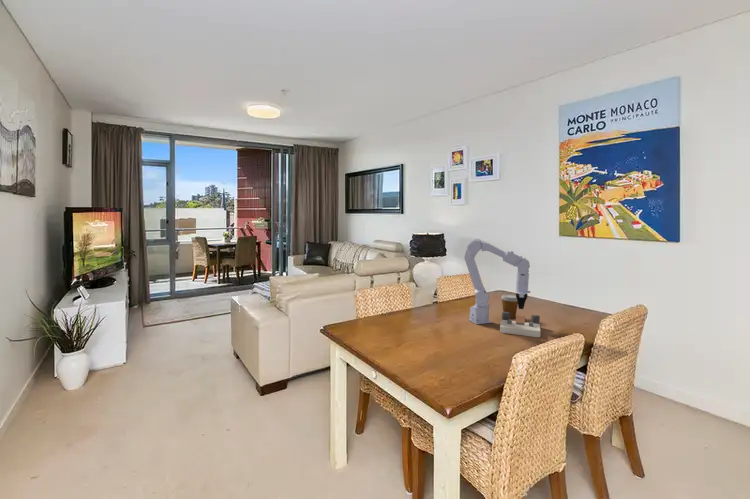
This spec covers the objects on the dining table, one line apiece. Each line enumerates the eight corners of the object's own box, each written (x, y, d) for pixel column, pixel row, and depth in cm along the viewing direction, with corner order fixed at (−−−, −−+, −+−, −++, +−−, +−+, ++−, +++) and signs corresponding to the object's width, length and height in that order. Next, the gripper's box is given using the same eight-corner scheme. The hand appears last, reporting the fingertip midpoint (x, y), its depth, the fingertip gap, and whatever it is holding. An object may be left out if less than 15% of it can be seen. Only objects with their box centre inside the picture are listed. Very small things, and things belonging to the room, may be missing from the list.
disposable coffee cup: (521, 319, 201) (522, 298, 200) (503, 319, 201) (504, 297, 200) (514, 314, 210) (515, 294, 209) (498, 314, 211) (499, 293, 209)
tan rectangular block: (524, 324, 181) (524, 316, 183) (515, 323, 183) (516, 315, 184) (524, 325, 182) (524, 316, 184) (515, 324, 184) (516, 315, 185)
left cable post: (505, 325, 191) (505, 314, 190) (500, 323, 195) (500, 312, 194) (511, 324, 192) (512, 313, 191) (506, 322, 196) (507, 311, 195)
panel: (540, 337, 173) (540, 328, 173) (499, 332, 180) (500, 323, 179) (539, 329, 184) (539, 320, 184) (501, 325, 191) (501, 316, 190)
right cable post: (534, 328, 186) (535, 317, 185) (528, 326, 189) (529, 315, 189) (540, 328, 187) (541, 316, 186) (535, 325, 191) (535, 314, 190)
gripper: (531, 285, 179) (529, 312, 181) (530, 280, 192) (529, 305, 194) (515, 284, 182) (514, 311, 183) (516, 279, 195) (515, 304, 197)
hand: (521, 308), depth 189 cm, fingers closed
